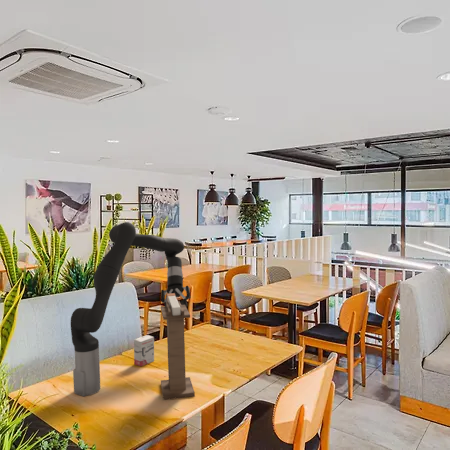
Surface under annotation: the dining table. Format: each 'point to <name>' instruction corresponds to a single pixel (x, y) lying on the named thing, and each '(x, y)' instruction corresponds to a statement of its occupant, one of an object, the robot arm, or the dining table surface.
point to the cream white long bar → (173, 304)
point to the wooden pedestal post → (176, 356)
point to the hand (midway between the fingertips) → (175, 309)
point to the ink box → (143, 350)
